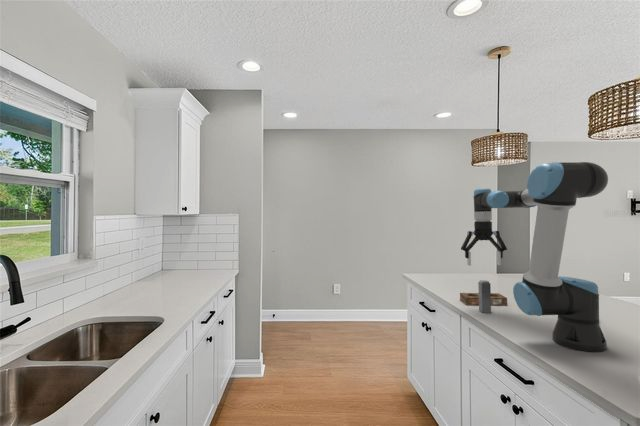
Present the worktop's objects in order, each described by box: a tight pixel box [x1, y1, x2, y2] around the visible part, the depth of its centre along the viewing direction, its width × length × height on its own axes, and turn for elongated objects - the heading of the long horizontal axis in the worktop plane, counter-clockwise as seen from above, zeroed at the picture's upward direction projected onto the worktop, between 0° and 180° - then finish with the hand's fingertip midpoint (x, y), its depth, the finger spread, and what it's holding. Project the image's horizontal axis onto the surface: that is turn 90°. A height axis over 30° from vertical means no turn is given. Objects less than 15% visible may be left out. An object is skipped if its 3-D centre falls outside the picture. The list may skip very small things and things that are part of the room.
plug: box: [477, 279, 492, 314], centre depth 155 cm, size 4×4×15 cm
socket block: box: [459, 292, 508, 307], centre depth 170 cm, size 20×10×4 cm, turn 84°
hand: (483, 265), depth 155 cm, fingers open, 13 cm apart
